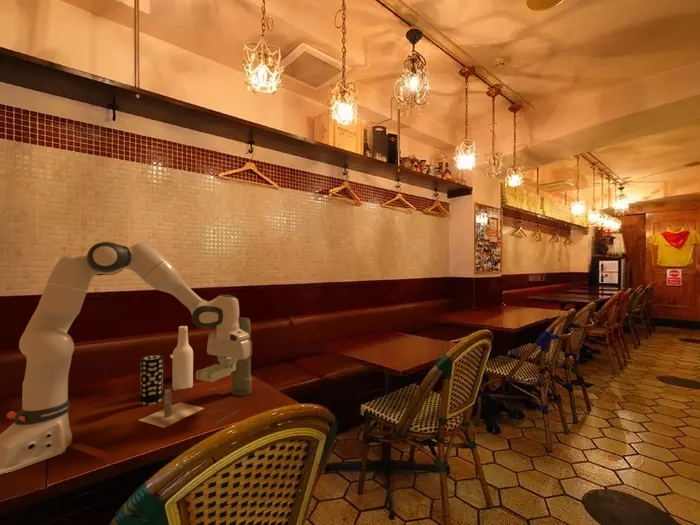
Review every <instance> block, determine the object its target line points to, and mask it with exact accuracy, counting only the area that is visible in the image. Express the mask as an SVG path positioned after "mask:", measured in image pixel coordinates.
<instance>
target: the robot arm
mask: <svg viewBox="0 0 700 525" xmlns="http://www.w3.org/2000/svg"><path fill="white" fill-rule="evenodd" d="M124 269H125V270H126V269H127V270H130V271H132V272H134V273H135V274H136V275H138V277H140V279H142V280H143V281H144V282H145V283H146V284H148V285H149V286H150V287H152V288H153V289H155V290H157V291H160V292H164V293H167V294H170V295H171V296H173V297H175V298H176V299H177V300H178V301H179V302H180V303H181V304H182V305H183V306H185V307H186V308H187V309H188V310H189V312H190V314H191V321H192V323H193V324H194V325H195V327H197V328H199V329H208V328H213V327H216V331H212V332H210V333H209V334H208V340H207V346H206V353H207V355H211V356H217V360H218V362H219V363H220V360H221V359H224V358H227V357H229V358H232V360H233V362H232V364H230V367H231V368H232V369H234V368H235V367H236V362H237V361H238V359H242V360H243V359H246V358H248V357H249V355H250V343H249V341H248V340H247V339H248V338H249V334H248V333H246V332H245V331H243V330H241V329H239V323H238V318H240V304H239V303H240V302H239V299H238V298H237V297H236V296H234V295H230V294H219V295H218V296H216V297H215V298H213V299H212V300H207V299H205V298H201V297H200V296H199V295H198V294H197V293H196V292H195V291H193V289H191V288H190V287H189V286H188V285H187V284H186V283H185V281H184V280H183V279H182V276H181V275H180V273H179V272H178V271H177V269H176V267H175V266H174V265H173V264H172V263H171V261H169V260H168V259H167V258H166V257H165V256H164V255H163V254H162V253H161V252H159V251H158V250H157V249H155V248H154V247H152V246H151V245H149V244H147V243H144V242H139V243H136V244H133V245H131V246H130V247H128V246H125V245H123V244H118V243H116V242H111V241H102V242H98V243H96V244H94V245H92V246H91V247H90V248H89V250H88V252H87V254H86V255H77V254H71V255H64V256H62V257H61V258H60V259H59V260H58V261H57V262H56V264H55V265H54V268H53V269H52V271H51V273H50V274H49V277H48V280H47V281H46V284H45V286H44V290H43V292H42V294H41V297H40V299H39V303H38V305H37V307H36V309H35V311H34V312H33V314H32V316H31V318H30V320H29V321H28V323H27V325H26V328H25V330H24V331H23V333H22V334H21V337H20V339H19V343H18V348H19V350H20V352H21V353H22V355H24V356H25V358H26V366H25V372H24V378H23V382H22V398H21V399H22V404H21V408H20V410H18V412H16V411H13V410H10V411H9V412H8V413H7V414H6V417H7V419H10V420H13V419H14V420H13V421H14V422H13V423H12V424H11V425H10V426H9V427H7V429H5V430H4V431H3V432H1V433H0V475H1V474H4V473H7V474H9V473H12V472H15V471H17V470H20V469H23V468H25V467H28V466H31V465H34V464H37V463H39V462H43V461H45V460H47V459H48V460H49V459H50V458H54V457H56V456H58V455H63V452H64V453H65V452H66V450H67V448H69V447H70V445H71V444H72V443H73V442H74V438H73V435H72V431H71V427H70V420H69V415H70V399H69V398H68V397H69V396H68V395H69V394H68V392H69V387H68V386H69V374H70V373H69V372H70V368H71V363H72V357H73V354H74V351H75V343H74V340H73V338H72V337H71V335H70V334H68V331H69V330H70V328H71V327H72V326H71V325H72V324H73V322H74V321H75V319H76V318H77V316H78V315H79V314H80V312H81V309H82V307H83V304H84V301H85V298H86V296H87V292H88V291H89V290H88V289H89V287H90V284H91V282H92V279H93V278H94V277H95V276H112V275H116V274H119V273H120V272H122V271H123V270H124ZM8 472H9V473H8ZM4 475H5V474H4ZM1 476H2V475H1Z"/></svg>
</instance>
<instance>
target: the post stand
mask: <svg viewBox="0 0 700 525" xmlns="http://www.w3.org/2000/svg"><path fill="white" fill-rule="evenodd" d="M172 391H173V389H172V388H167V389H165V390H164V408H163V409H160V410H158V411H156V412H154V413H152V414H149V415H147V416H145V417H142V418H140V419H138V421H139V422H142V423H147V424H150V425H154V426H156V427H160V428H163V429H164V428H167V427H170V426H172V425H174V424H175V423H177V422H179V421H182V420H183V419H186V418H187V417H190V416H191V415H194V414H196V413H198V412H200V411H202V410H204V409H205V408H204V407H201V406H197V405H192V404H189V403H184V402H181V401H180V402H178V403H175V404H173V403H172V402H173V401H172V400H173V399H172V397H173V396H172V395H173V393H172Z"/></svg>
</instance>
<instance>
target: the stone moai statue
mask: <svg viewBox="0 0 700 525" xmlns="http://www.w3.org/2000/svg"><path fill="white" fill-rule="evenodd" d="M238 323H239V329H241V330H243V331H245V332H246V333H248V334H249V338H248V339H247V340H248V341H249V343H250V355H249V357H248V358H246V359H243V360H242V359H238V361H237V362H236V370H234V371H232V378H231V395H232V396H233V397H238V398H239V397H240V398H242V397H246V396H248V394H249V395H251V394H250V393H252V385H253V377H252V374H251V373H252V372H251V371H252V370H251V369H252V368H251V367H252V361H251V360H252V356H253V355H252V354H253V342H252V338H251V334H252V333H251V332H252V331H251V330H252V329H251V327H252V325H251V324H252V323H251V321H250V318H249V317H244V316H243V317H240V316H239V318H238Z"/></svg>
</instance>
